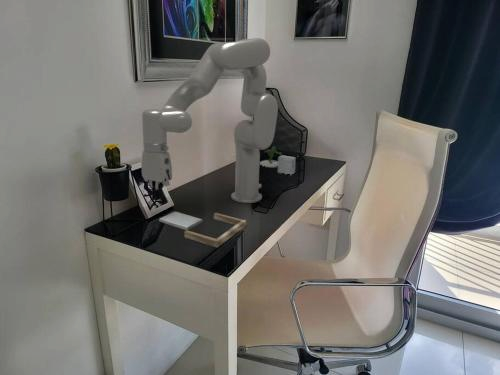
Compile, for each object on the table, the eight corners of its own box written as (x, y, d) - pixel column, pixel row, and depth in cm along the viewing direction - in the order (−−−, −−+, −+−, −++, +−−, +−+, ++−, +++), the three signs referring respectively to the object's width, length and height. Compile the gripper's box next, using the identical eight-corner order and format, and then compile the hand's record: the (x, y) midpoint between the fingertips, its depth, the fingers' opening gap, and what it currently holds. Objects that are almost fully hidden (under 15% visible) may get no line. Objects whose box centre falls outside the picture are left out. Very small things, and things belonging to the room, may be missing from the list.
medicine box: (294, 173, 176) (296, 157, 173) (291, 175, 172) (292, 159, 169) (281, 171, 180) (282, 154, 177) (277, 172, 176) (278, 156, 173)
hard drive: (202, 219, 118) (175, 210, 124) (187, 227, 111) (158, 218, 117) (202, 223, 118) (175, 214, 124) (187, 232, 112) (159, 222, 118)
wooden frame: (215, 217, 121) (215, 212, 121) (245, 226, 116) (246, 220, 115) (184, 237, 107) (184, 231, 106) (217, 247, 101) (217, 241, 101)
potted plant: (284, 163, 194) (286, 146, 190) (275, 168, 184) (276, 150, 180) (266, 160, 199) (266, 143, 196) (256, 165, 189) (256, 146, 186)
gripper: (180, 149, 114) (180, 200, 120) (146, 142, 120) (148, 192, 126) (164, 152, 107) (166, 207, 113) (130, 146, 114) (133, 197, 120)
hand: (157, 199), depth 120 cm, fingers closed
